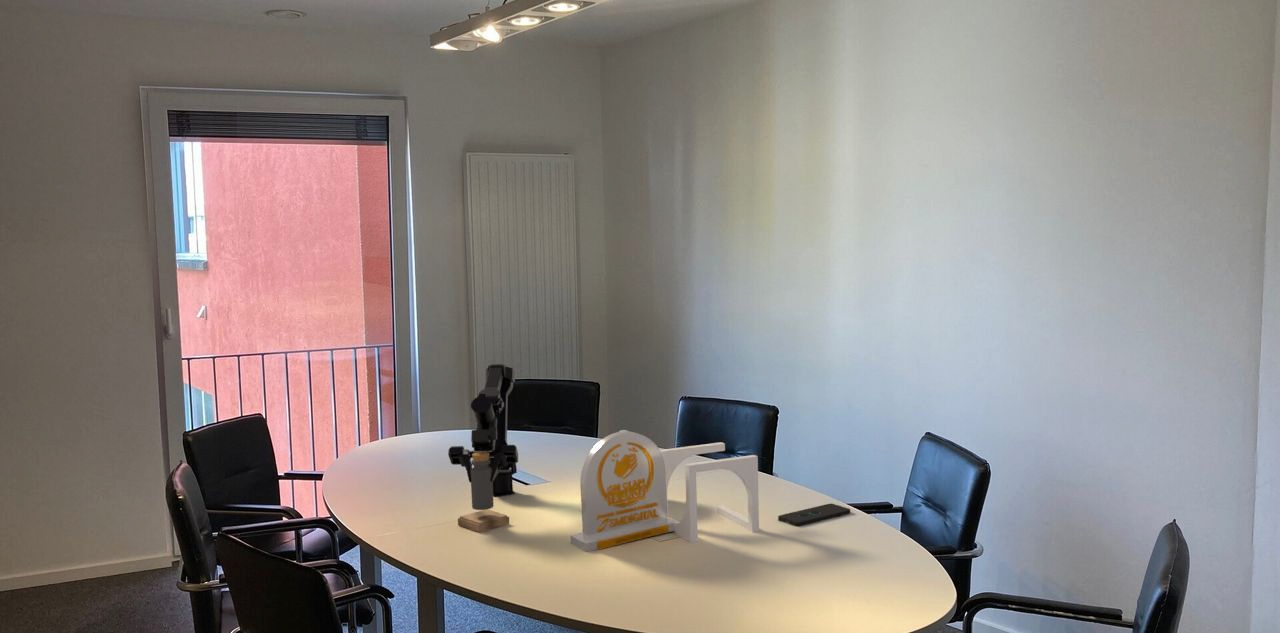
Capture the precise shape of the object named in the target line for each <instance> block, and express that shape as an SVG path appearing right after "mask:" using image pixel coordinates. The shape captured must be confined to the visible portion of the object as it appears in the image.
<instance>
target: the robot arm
mask: <svg viewBox="0 0 1280 633" xmlns="http://www.w3.org/2000/svg"><path fill="white" fill-rule="evenodd" d="M515 372H516V371H515V370H514V368H513V367H510V366H507V365H506V364H503V363H500V364H499V363H498V364H497V363H493V364H490V365H488V366H487V368H486V369H485V386H484V389H482V390H480V391H478V394H477V397H475V398H473V400H472V402H470V407H471V408H470V409H471V411H472V415H473V418H474V421H475V423H476V424H475V425H476V426H475V429H472V430H471V434H470V435H471V437H470V438H471V439H470V440H471V441H470V442H471V447H472V448H473V450H469V449H465V447H464V446H463V445H454V446H452V445H451V446H450V447H449V448H448V452H447V454H448V458H449V460H450V463H451V465H459V466H460V467H463V468H465V470H466V475H467V479H468V481H469V483H471V469H472V468H473V465H472V459H473V457H472V454H473V453H476V452H488V453H489V459H490V464H488V466H489V467H490V468H492V474H491V482H493V497H498V496H506V495H512V494H515V491H514V486H513V483H514V482H513V475H515V474H517V473H518V472H517V470H518V468H517V463H519V453H518V448H517V445H515V444H509V443H508V405H509V404H508V400H509V398H508V397H509V395H510V394H511V392H512V390H513V389H514V383H515V382H516V373H515Z"/></svg>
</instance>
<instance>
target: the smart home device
mask: <svg viewBox="0 0 1280 633" xmlns="http://www.w3.org/2000/svg"><path fill="white" fill-rule="evenodd" d="M850 514H851V508H847V507H844V506H841V505H838V504H834V503H827V504H826V503H825V504H823V505H818V506H814V507H810V508H806V509H805V508H804V509H801V510H797V511H792V512H788V513H784V514H780V515H778V516H777V521H779V522H783V523H785V524H788V525H790V526H794V527H802V526H806V525H810V524H814V523H817V522H823V521H826V520H831V519H835V518H839V517H842V516H843V517H844V516H845V515H850Z"/></svg>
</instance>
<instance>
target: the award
mask: <svg viewBox="0 0 1280 633" xmlns="http://www.w3.org/2000/svg"><path fill="white" fill-rule="evenodd" d="M594 445H595V446H594ZM594 445H593V447H594V448H591V450H590V451H589V452H588V455H587V456H586V458H585V460H584V463H583V466H582V469H581V474H580V480H579V481H580V485H579V486H580V498H581V499H580V501H581V502H580V504H581V505H580V506H581V519H582V520H581V522H582V523H581V524H582V525H581V526H582V532H580V533H579V532H578V533H575V534H574V533H573V534H571V535H570V539H569V540H570V544H571V546H574V547H576V548H578V549H580V550H582V551H584V552H585V553H587V552H591V551H592V552H593V551H596V550H601V549H605V548H609V547H614V546H618V545H621V544H626V543H631V542H634V541H639V540H642V539H646V538H649V537H653V536H657V535H662V534H666V533H670V532H673V531H675V526H674V524H678V523H679V522H680V521H679V520H676V519H674V518H673V517H672V518H671V517H670V516H668V517H667V505H668V493H667V494H666V471H665V463H664V460H663V456H662V454H661V452H660V450H661V449H659V447H658V446H657V444H655V442H654V441H653V440H652V439H650V438H649V437H647V436H645V435H643V434H641V433H637V432H633V431H628V430H627V431H622V432H619V431H617V432H613V433H611V434H609V435H607V436H605V437H603V438H602V439H601V440H599V441H598V442H597V443H596V444H594ZM669 517H670V518H669Z"/></svg>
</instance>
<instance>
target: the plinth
mask: <svg viewBox="0 0 1280 633" xmlns="http://www.w3.org/2000/svg"><path fill="white" fill-rule="evenodd" d="M458 525H459V527H461V526H462V528H464V527H465V529H467V528H468V530H470V529H471V531H473V530H474V531H473V532H475V533H476V532H477V533H482V532H487V531H491V530H493V529H497V528H500V527H505V526H507V525H510V516H508V515H507V514H504V513H500V512H497V511H494V510H491V509H486V510H478V511H475V512H471V513H468V514H464V515H460V516H459V517H458V518H457V526H458Z"/></svg>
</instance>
